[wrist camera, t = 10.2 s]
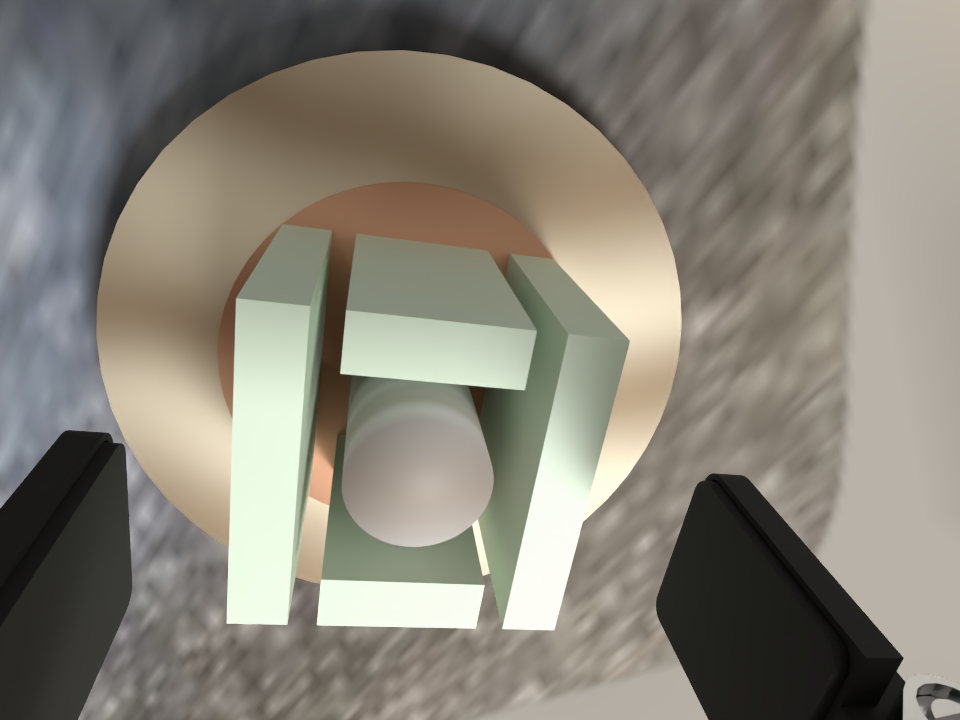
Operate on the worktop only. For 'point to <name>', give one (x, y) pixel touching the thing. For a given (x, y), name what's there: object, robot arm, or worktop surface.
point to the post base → (346, 211)
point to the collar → (431, 358)
